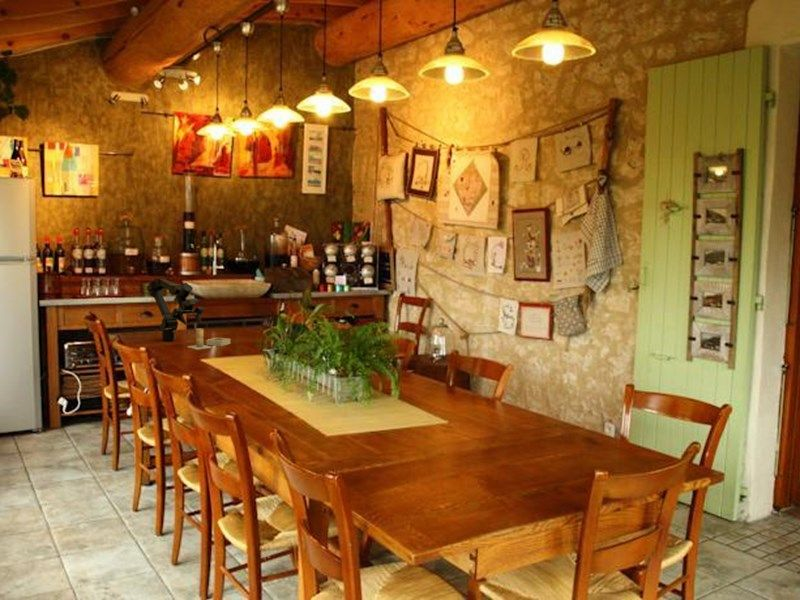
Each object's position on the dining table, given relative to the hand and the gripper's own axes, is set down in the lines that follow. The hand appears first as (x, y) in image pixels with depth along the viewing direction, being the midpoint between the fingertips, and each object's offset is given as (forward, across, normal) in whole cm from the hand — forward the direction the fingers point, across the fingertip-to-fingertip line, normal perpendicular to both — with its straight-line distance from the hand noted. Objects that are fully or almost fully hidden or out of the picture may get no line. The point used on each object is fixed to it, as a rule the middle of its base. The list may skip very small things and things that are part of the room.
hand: (193, 323), depth 446 cm
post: (+14, 0, +4) cm, 14 cm away
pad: (+14, 0, +4) cm, 15 cm away
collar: (+11, +15, +7) cm, 20 cm away
